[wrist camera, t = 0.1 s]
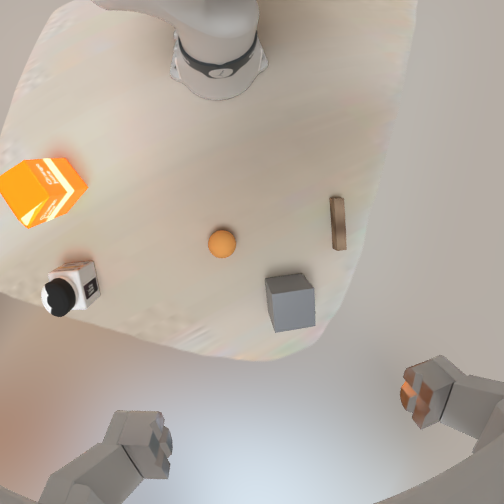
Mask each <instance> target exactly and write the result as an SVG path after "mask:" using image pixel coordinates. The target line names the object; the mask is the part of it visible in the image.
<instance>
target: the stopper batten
mask: <svg viewBox="0 0 504 504" xmlns="http://www.w3.org/2000/svg"><path fill="white" fill-rule="evenodd" d="M330 211H331V226H332V244H333V249H335V250H337V251H340V250H347V249H346V226H345V209H344V198H339V197H338V198H330Z"/></svg>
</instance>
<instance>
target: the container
mask: <svg viewBox="0 0 504 504" xmlns="http://www.w3.org/2000/svg"><path fill="white" fill-rule="evenodd" d="M48 278H49V282H48V283H47V284H45V285H44V287H43V288H42V292H41V298H42V302H43V305H44V307H45V308H46V310H47V311H48V312H49V313H51V314H52V315H54V316H57V317H62V316H64V315H66V314H67V313H68V312H69V311H70V310H85V309H87V308H88V307H89V306H90V305H91V304H92V303H93V302H94V301H95V300H96V299H97V298H98V297H99V296H100V291H99V287H98V282H97V277H96V272H95V267H94V262H93V261H87V262H76V263H66V264H63V265H62V266H60V267H58V268H56V269H55V270H53V271H51V272H49V273H48Z"/></svg>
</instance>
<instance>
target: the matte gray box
mask: <svg viewBox="0 0 504 504" xmlns="http://www.w3.org/2000/svg"><path fill="white" fill-rule="evenodd" d="M265 283H266V293H267V303H268V313H269V316H270V319H271V322H272V325H273V328H274V330H275V333H276V332H283V331H289V330H295V329H301V328H307V327H312V326H315V297H314V287H313V286H312V285H311V284H310V283H309V281H308V280H307V279H306V278H305V277H304V276H303V274H302V273H301V274H294V275H287V276H280V277H272V278H265Z"/></svg>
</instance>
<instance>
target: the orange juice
mask: <svg viewBox="0 0 504 504" xmlns="http://www.w3.org/2000/svg"><path fill="white" fill-rule="evenodd" d="M87 188H88V186H87V185H86V184H85V183H84V181H83V180H82V179H81V178H80V176H79V175H78V174H77V173H76V171H75V170H74V169H73V168H72V166H71V165H70V164H69V162H68V161H67V160H66V158H54V159H50V158H47V159H35V160H23V161H22V162H21V163H19V164H18V165H16V166H15V167H13V168H11V169H10V170H8V171H7V172H5V173H4V174H2V175H1V176H0V193H1V194H2V196H3V198H4V199H5V201H6V202H7V204H8V205H9V207H10V208H11V210H12V211H13V213H14V214H15V216H16V217H17V219H18V220H19V221H20V222H21V223H22V224H23V225H24V226H25V227H27V228H28V229H29V228H31V227H33V226H36V225H38V224H41V223H43V222H46V221H49V220H51V219H53V218H56V217H58V216H61V215H63V214H66V213H67V212H68V211H69V210H70V208H71V207H72V206H73V205H74V204H75V202H76V201H77V200H78V199H79V198H80V196H81V195H82V194H83V193H84V192H85V191H86V190H87Z"/></svg>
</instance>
